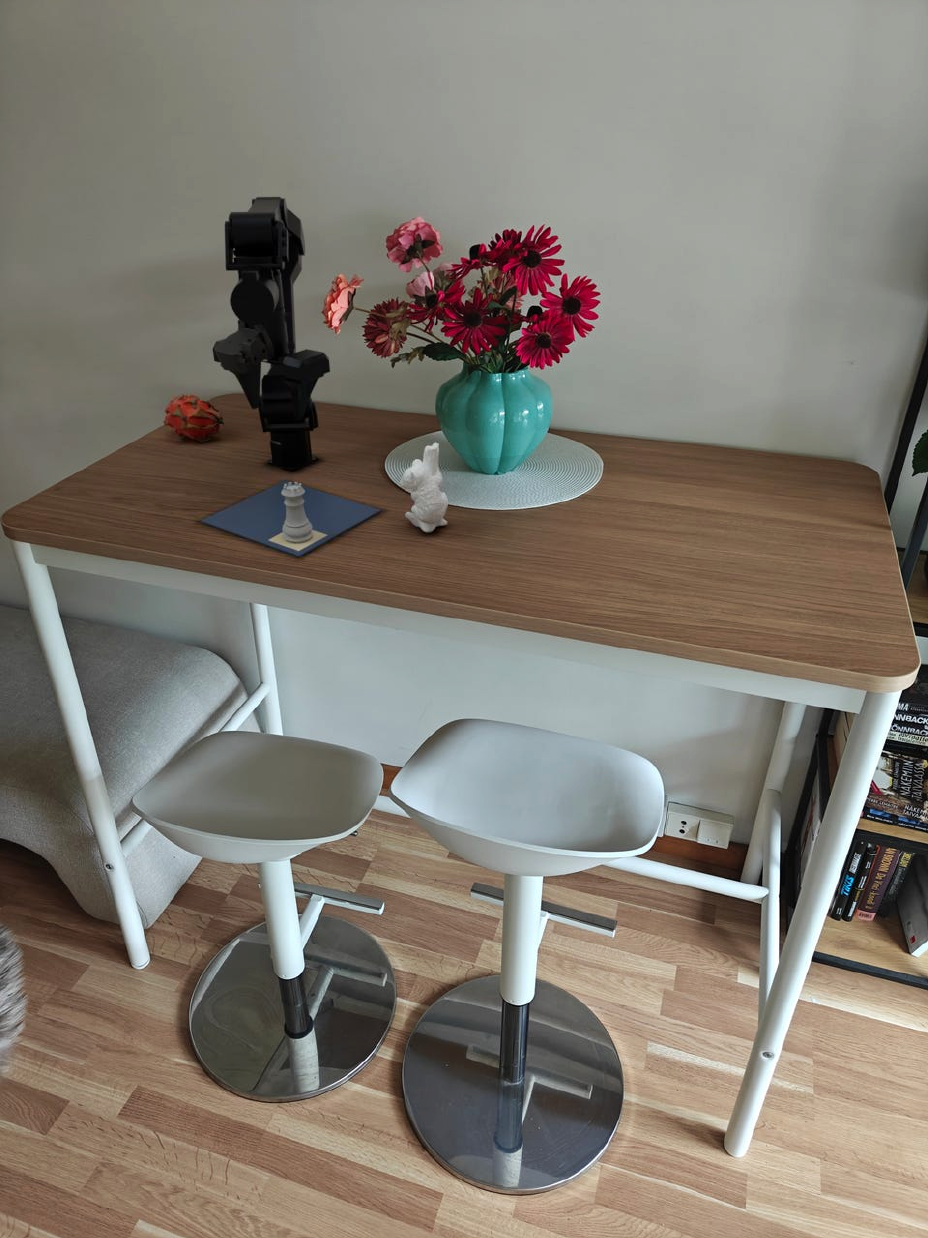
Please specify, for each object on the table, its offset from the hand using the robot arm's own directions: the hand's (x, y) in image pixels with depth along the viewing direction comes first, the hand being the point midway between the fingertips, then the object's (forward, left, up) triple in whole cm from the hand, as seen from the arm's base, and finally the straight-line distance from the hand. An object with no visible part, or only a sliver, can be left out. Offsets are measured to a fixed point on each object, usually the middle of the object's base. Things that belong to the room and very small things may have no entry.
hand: (276, 413), depth 134 cm
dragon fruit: (-9, -31, -13) cm, 35 cm away
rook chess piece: (+11, +13, -13) cm, 21 cm away
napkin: (+6, +7, -13) cm, 16 cm away
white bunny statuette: (-3, +26, -13) cm, 29 cm away
